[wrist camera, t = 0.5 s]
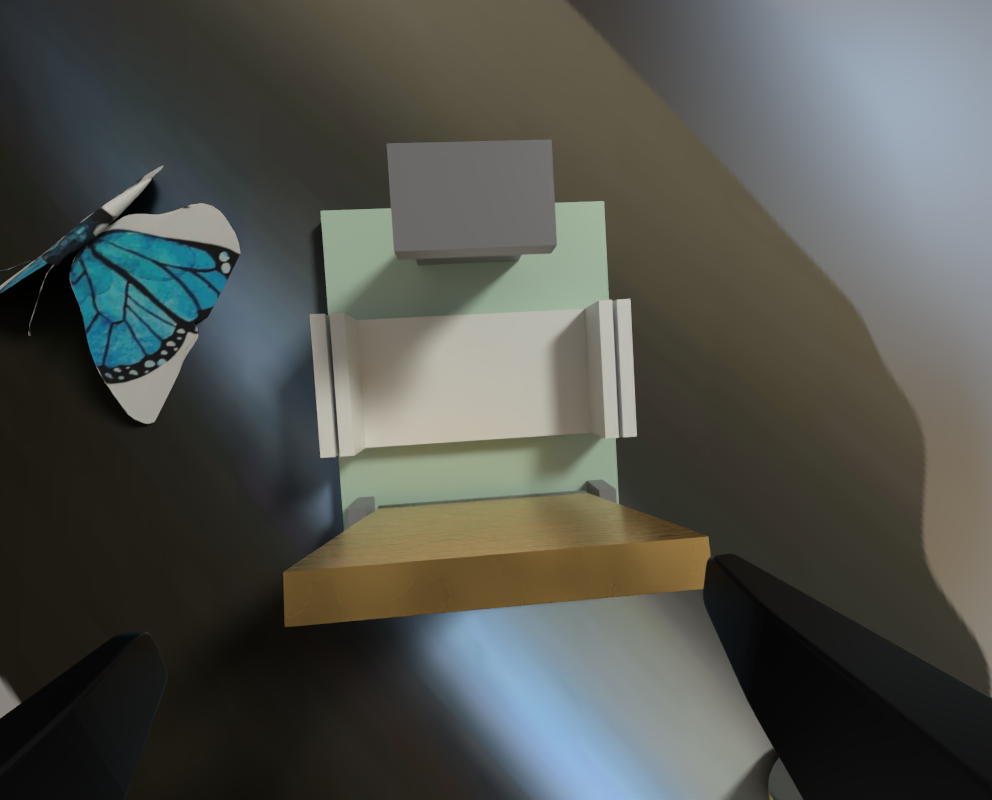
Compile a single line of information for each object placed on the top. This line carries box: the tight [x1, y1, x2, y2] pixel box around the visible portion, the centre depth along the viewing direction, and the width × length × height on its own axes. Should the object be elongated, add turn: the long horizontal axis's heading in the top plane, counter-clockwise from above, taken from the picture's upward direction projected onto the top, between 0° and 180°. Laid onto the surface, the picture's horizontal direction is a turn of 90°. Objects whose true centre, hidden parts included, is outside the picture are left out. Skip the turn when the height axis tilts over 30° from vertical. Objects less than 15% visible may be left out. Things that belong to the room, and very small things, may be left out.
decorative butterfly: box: [0, 166, 240, 424], centre depth 22 cm, size 10×6×10 cm
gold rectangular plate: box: [283, 490, 711, 627], centre depth 17 cm, size 1×10×13 cm, turn 93°
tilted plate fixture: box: [310, 140, 637, 531], centre depth 20 cm, size 20×14×10 cm
